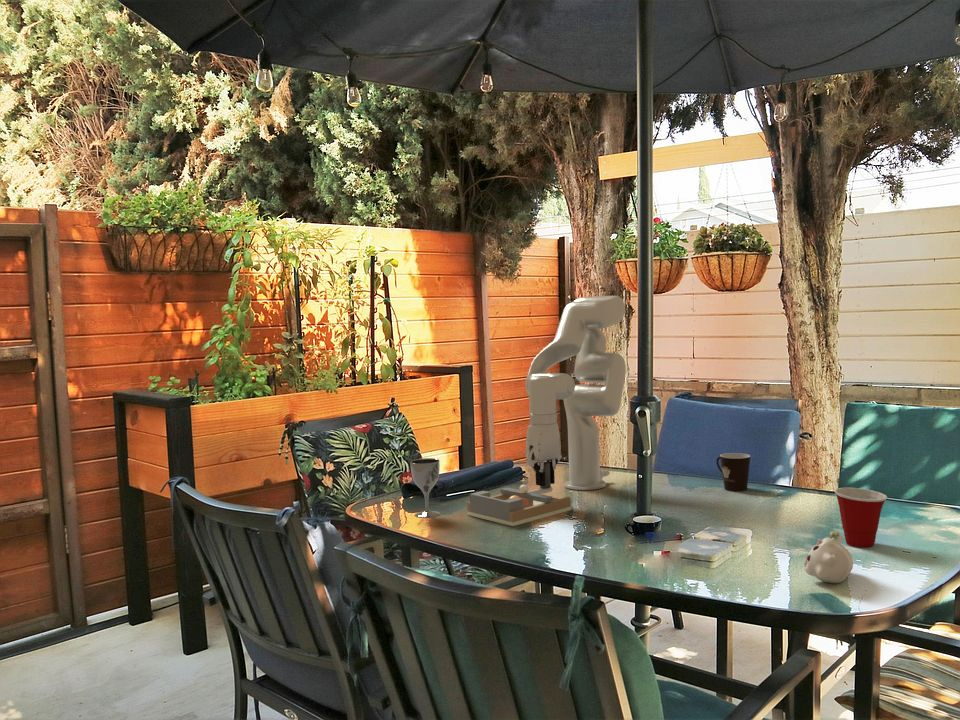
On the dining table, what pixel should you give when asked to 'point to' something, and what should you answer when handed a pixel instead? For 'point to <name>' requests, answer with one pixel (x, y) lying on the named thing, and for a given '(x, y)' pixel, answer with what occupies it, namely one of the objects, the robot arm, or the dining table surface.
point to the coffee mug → (734, 471)
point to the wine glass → (425, 480)
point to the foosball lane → (513, 508)
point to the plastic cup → (860, 514)
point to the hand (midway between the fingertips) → (545, 483)
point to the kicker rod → (533, 494)
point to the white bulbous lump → (829, 560)
